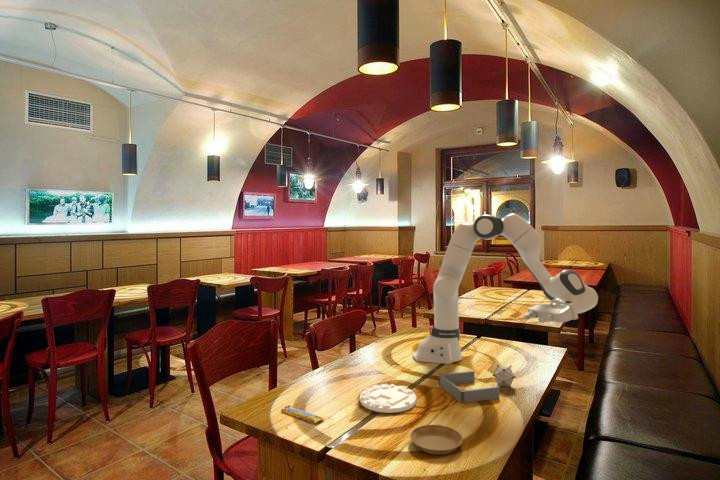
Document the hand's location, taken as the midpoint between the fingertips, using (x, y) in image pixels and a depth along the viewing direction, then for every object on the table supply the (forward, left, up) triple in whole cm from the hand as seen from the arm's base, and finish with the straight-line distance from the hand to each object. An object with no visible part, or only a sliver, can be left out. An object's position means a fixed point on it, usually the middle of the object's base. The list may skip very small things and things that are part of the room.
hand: (532, 319), depth 172 cm
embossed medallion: (-55, -27, -25) cm, 66 cm away
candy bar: (-82, -42, -25) cm, 96 cm away
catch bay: (-26, -14, -24) cm, 38 cm away
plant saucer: (-39, -55, -25) cm, 72 cm away
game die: (-12, -8, -25) cm, 29 cm away
